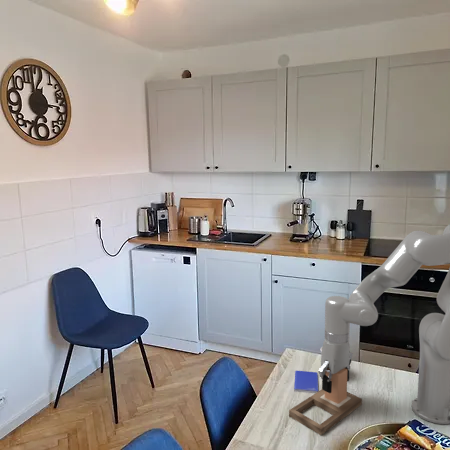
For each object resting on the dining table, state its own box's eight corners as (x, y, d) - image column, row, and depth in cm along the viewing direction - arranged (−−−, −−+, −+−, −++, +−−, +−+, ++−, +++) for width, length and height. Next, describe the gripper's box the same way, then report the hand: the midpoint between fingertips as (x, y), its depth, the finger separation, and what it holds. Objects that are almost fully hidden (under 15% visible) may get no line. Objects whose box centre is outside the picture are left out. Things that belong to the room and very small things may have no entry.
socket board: (361, 404, 128) (362, 398, 128) (321, 435, 114) (321, 428, 114) (330, 389, 137) (330, 383, 137) (289, 416, 123) (289, 409, 123)
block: (346, 397, 128) (347, 369, 127) (337, 404, 125) (338, 374, 124) (333, 391, 132) (334, 363, 131) (324, 397, 129) (325, 368, 127)
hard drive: (318, 391, 135) (317, 372, 147) (294, 388, 136) (295, 370, 148) (318, 395, 135) (317, 376, 147) (294, 392, 137) (295, 374, 149)
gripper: (342, 324, 134) (340, 371, 136) (310, 340, 123) (309, 390, 125) (362, 331, 128) (360, 380, 131) (331, 348, 117) (329, 401, 120)
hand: (335, 385), depth 128 cm, fingers open, 9 cm apart
